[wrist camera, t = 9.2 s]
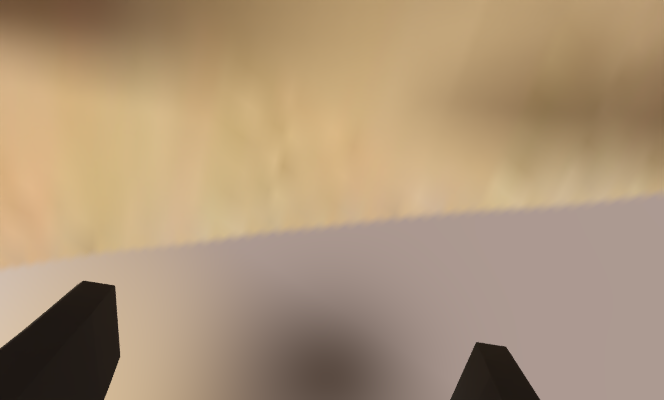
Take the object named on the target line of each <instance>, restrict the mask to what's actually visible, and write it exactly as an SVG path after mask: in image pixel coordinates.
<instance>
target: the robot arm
mask: <svg viewBox="0 0 664 400" xmlns="http://www.w3.org/2000/svg"><path fill="white" fill-rule="evenodd" d="M119 358H120V348H119V333H118V320H117V306H116V292H115V286H114V285H108V284H102V283H95V282H88V281H82V282H81V283H80V284H78V285H77V286H76V287H74V288H73V289H72V290H71V291H70V292H68V293H67V294H66V295H65V296H64V297H62V298H61V299H60V300H59V301H58V302H57V303H55V304H54V305H53V306H52V307H51V308H49V309H48V310H47V311H46V312H45V313H43V314H42V315H41V316H40V317H39V318H37V319H36V320H35V321H34V322H33V323H31V324H30V325H29V326H28V327H26V328H25V329H24V330H23V331H22V332H20V333H19V334H18V335H17V336H16V337H14V338H13V339H12V340H10V341H9V342H8V343H6V344H5V345H4V346H3V347H1V348H0V400H104V398H105V396H106V393H107V391H108V388H109V385H110V383H111V380H112V377H113V375H114V372H115V369H116V366H117V363H118V360H119ZM450 400H540V399H539V397H538V396H537V394H536V393H535V391H534V390H533V388H532V386H531V385H530V383H529V382H528V380H527V379H526V377H525V376H524V374H523V372H522V371H521V369H520V368H519V366H518V365H517V363H516V361H515V360H514V358H513V357H512V355H511V354H510V352H509V351H508V349H507V348H506V347H504V346H497V345H491V344H485V343H478V342H476V344H475V346H474V348H473V351H472V353H471V355H470V357H469V360H468V362H467V364H466V366H465V369H464V371H463V373H462V375H461V377H460V379H459V382H458V384H457V386H456V389H455V391H454V393H453V395H452V397H451V399H450Z"/></svg>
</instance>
